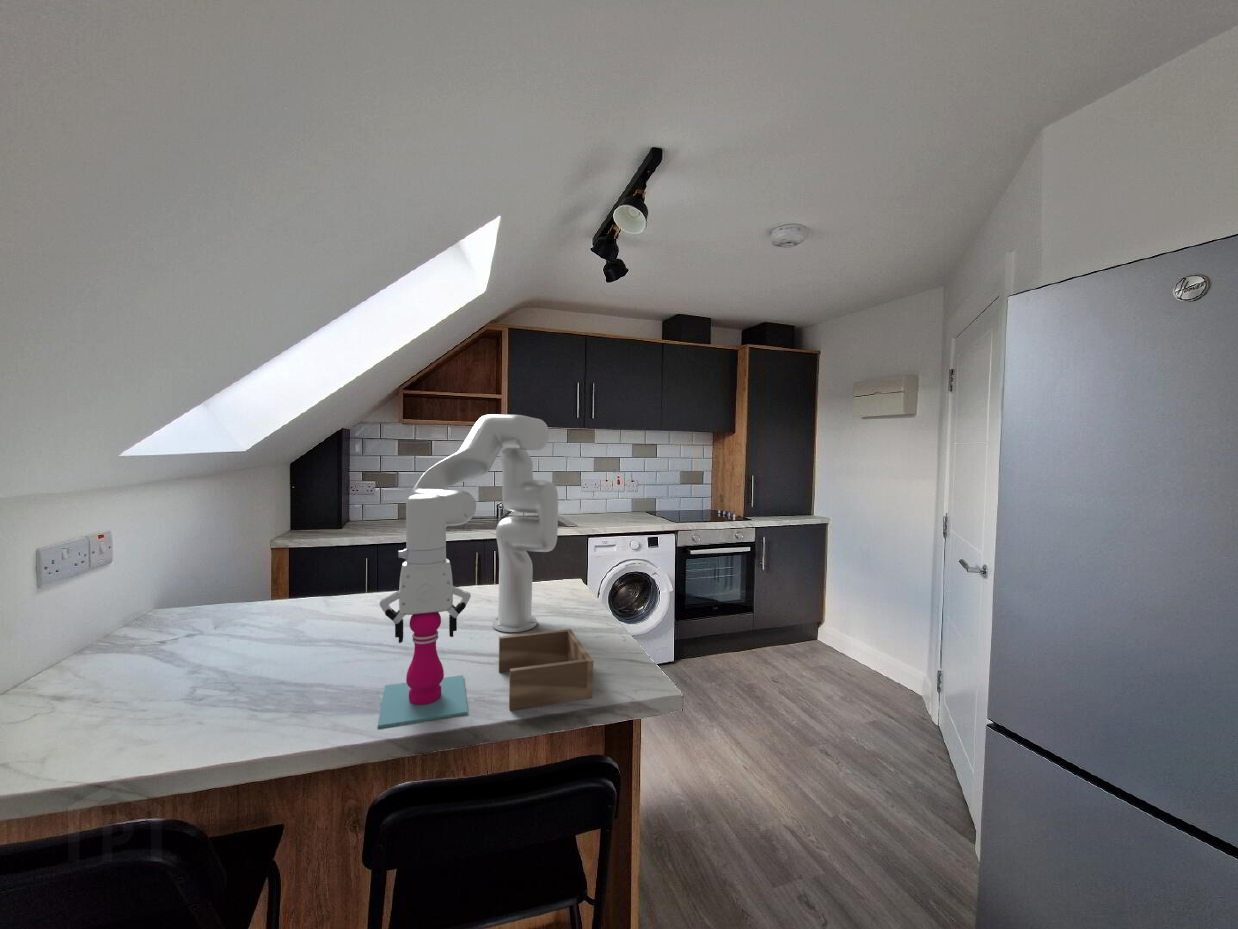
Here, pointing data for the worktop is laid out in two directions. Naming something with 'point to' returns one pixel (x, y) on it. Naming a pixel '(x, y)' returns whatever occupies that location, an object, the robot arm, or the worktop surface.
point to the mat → (403, 711)
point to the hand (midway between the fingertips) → (426, 637)
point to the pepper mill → (425, 660)
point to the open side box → (545, 668)
